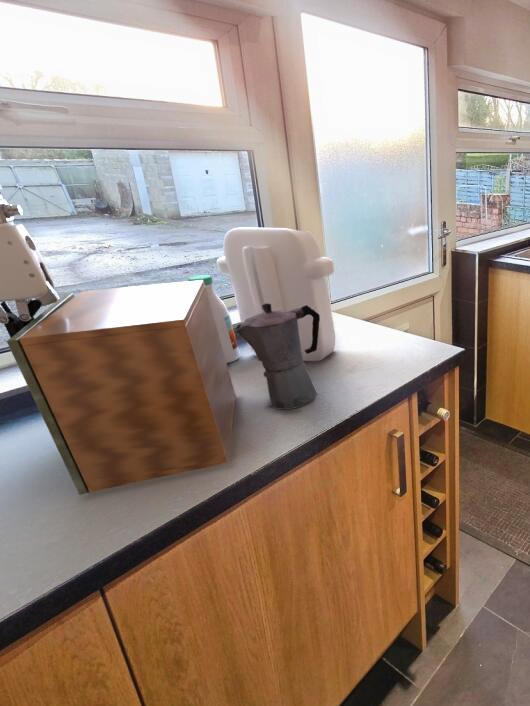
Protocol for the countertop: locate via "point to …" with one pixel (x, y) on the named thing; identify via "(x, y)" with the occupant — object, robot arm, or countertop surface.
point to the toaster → (281, 279)
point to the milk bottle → (221, 320)
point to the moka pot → (282, 353)
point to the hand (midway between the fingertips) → (30, 345)
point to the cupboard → (136, 381)
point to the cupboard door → (40, 396)
